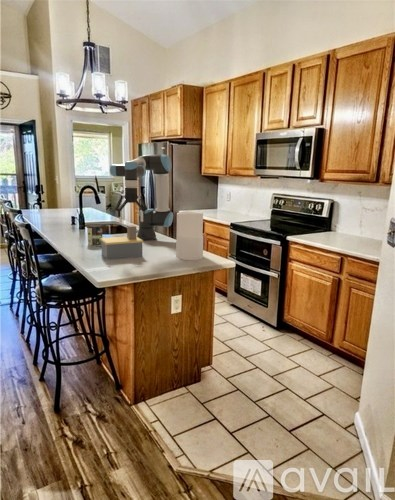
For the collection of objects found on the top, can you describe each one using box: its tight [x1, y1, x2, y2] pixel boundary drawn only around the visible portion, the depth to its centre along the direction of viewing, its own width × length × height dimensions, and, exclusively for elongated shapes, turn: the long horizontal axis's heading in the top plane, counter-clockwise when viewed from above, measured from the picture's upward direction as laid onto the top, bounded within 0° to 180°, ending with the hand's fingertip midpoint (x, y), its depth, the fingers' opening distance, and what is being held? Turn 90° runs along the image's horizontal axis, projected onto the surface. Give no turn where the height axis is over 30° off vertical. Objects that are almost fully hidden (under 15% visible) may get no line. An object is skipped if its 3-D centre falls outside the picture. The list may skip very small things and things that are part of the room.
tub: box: [100, 241, 143, 261], centre depth 221 cm, size 22×14×10 cm, turn 118°
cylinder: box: [175, 211, 205, 261], centre depth 225 cm, size 17×17×28 cm
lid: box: [101, 224, 144, 245], centre depth 219 cm, size 23×15×11 cm, turn 118°
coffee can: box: [86, 224, 103, 247], centre depth 251 cm, size 10×10×14 cm
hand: (131, 221), depth 220 cm, fingers open, 13 cm apart
